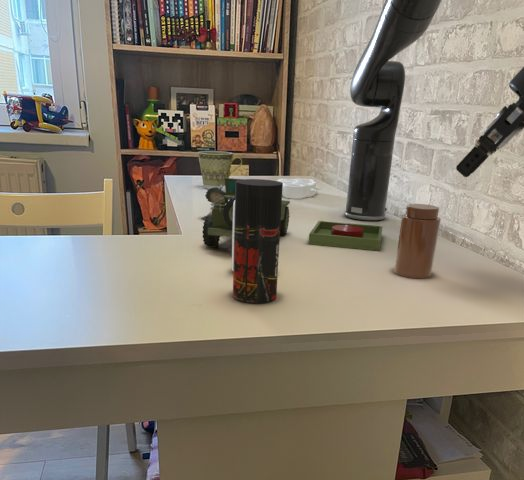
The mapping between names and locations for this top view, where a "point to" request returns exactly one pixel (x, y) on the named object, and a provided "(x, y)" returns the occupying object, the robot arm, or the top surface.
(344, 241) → the tray
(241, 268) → the deodorant
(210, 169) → the ceramic cup
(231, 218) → the toy jeep
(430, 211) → the jar
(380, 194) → the robot arm
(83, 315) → the top surface
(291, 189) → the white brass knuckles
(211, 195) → the eagle figurine
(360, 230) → the jar lid
